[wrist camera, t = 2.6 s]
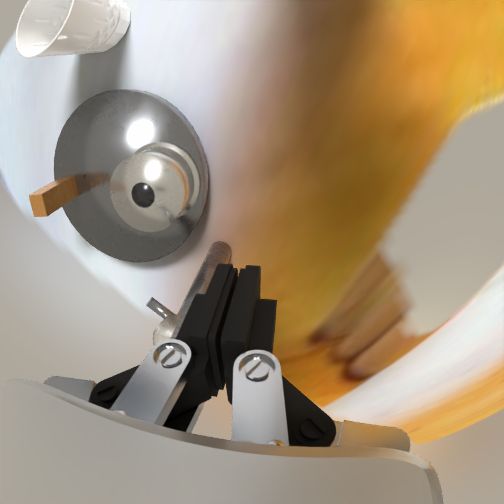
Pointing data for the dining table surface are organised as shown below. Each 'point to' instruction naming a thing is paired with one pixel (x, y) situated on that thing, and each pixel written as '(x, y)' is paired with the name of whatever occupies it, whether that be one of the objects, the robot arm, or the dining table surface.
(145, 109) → the turntable
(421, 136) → the dining table surface
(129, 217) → the cover
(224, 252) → the dial post
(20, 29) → the white cup
